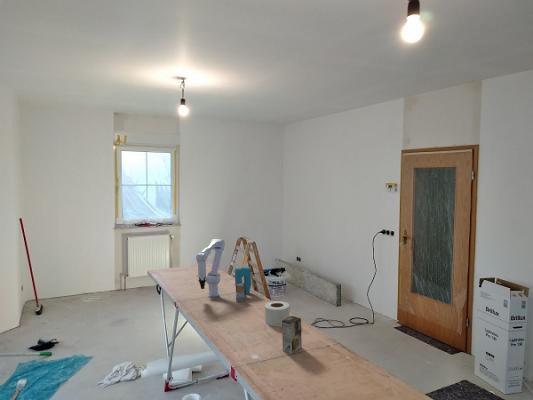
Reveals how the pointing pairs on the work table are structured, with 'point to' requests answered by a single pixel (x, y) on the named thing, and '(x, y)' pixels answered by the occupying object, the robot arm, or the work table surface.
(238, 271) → the block
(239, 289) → the walnut cube
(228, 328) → the work table surface
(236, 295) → the tower middle
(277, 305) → the roll of tape
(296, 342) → the coffee box
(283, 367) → the work table surface
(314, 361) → the work table surface
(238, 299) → the tower base
